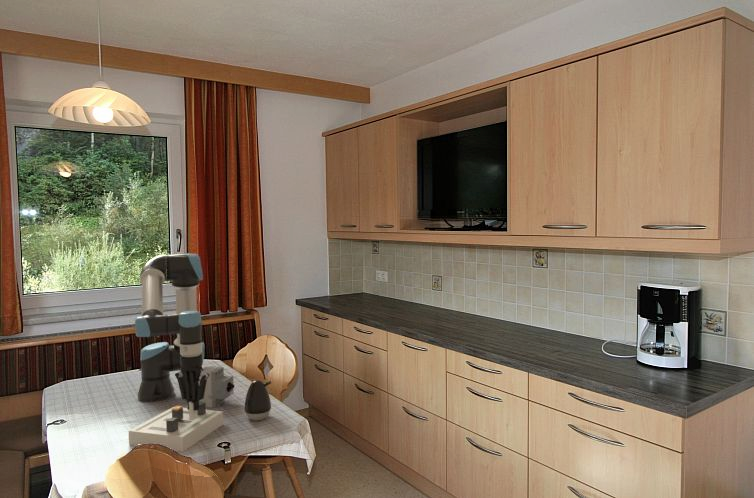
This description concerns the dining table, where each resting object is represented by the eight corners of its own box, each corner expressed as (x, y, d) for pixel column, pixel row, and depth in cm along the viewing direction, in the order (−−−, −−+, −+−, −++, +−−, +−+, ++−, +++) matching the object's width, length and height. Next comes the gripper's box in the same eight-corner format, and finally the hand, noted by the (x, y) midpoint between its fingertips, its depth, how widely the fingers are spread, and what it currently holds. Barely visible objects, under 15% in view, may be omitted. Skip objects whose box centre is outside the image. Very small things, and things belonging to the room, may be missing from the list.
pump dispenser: (272, 421, 197) (271, 383, 196) (244, 424, 195) (243, 385, 194) (271, 412, 207) (270, 375, 206) (245, 414, 205) (244, 377, 204)
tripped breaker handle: (172, 420, 185) (171, 408, 185) (177, 417, 188) (177, 405, 188) (177, 421, 184) (177, 409, 184) (183, 418, 187) (182, 406, 187)
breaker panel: (129, 444, 178) (128, 419, 178) (174, 419, 201) (173, 396, 201) (182, 451, 172) (181, 425, 171) (223, 424, 195) (222, 401, 194)
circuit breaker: (229, 408, 212) (228, 372, 211) (198, 406, 215) (196, 371, 214) (237, 401, 220) (236, 367, 219) (207, 400, 222) (206, 366, 222)
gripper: (168, 356, 181) (171, 421, 183) (200, 358, 178) (202, 424, 179) (182, 350, 188) (184, 413, 190) (213, 352, 185) (215, 416, 186)
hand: (193, 418), depth 184 cm, fingers closed
